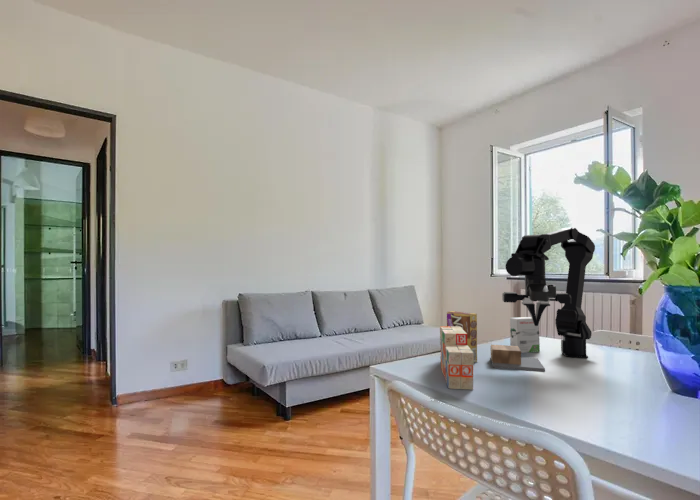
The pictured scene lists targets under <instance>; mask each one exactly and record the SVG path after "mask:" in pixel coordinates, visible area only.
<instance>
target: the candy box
mask: <svg viewBox="0 0 700 500" xmlns="http://www.w3.org/2000/svg"><path fill="white" fill-rule="evenodd" d="M477 317H478V314H477V313H473V312H464V311H458V310H457V311H456V310H455V311H454V310H450V311H447V312H446V326H450V327H451V326H456V327H461V328H462V329H463V330H464V331H465V332H466V333H467V345H468V346H469V348H470V349H471V350H472V352H473V353H474V364H475V363H477V362H478V318H477Z"/></svg>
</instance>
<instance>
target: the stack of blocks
mask: <svg viewBox="0 0 700 500" xmlns="http://www.w3.org/2000/svg"><path fill="white" fill-rule="evenodd" d="M439 345H440V357H439V358H440V369H441V372H442V374H443V376H444V377H443V378H444V379H445V383H446V386H447V387H448V389H451V390H474V364H475V363H474V353H473V352H472V350H471V349H470V348H469V346H468V345H467V333H466V332H465V331H464V330H463V329H462V328H461V327H456V326H451V327H450V326H447V325H444V326H441V325H440V326H439Z"/></svg>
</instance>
